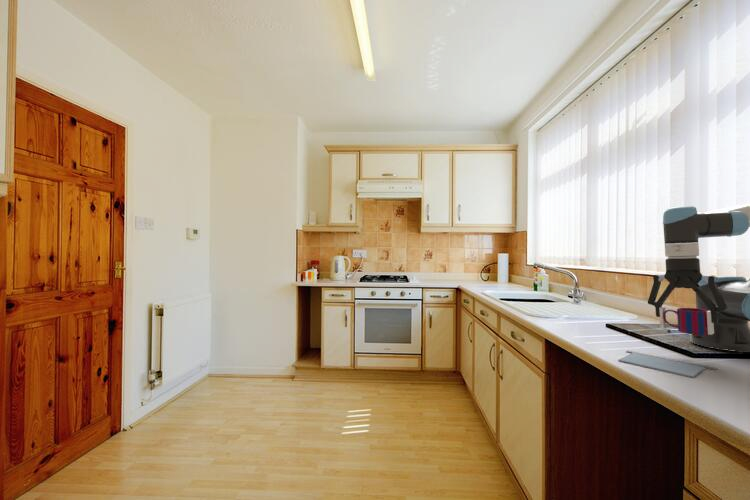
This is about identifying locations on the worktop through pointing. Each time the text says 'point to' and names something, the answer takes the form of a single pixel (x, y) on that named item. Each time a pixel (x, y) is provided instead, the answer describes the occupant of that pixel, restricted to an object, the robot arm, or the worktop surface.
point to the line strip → (674, 360)
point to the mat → (663, 364)
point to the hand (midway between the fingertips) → (686, 330)
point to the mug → (690, 320)
